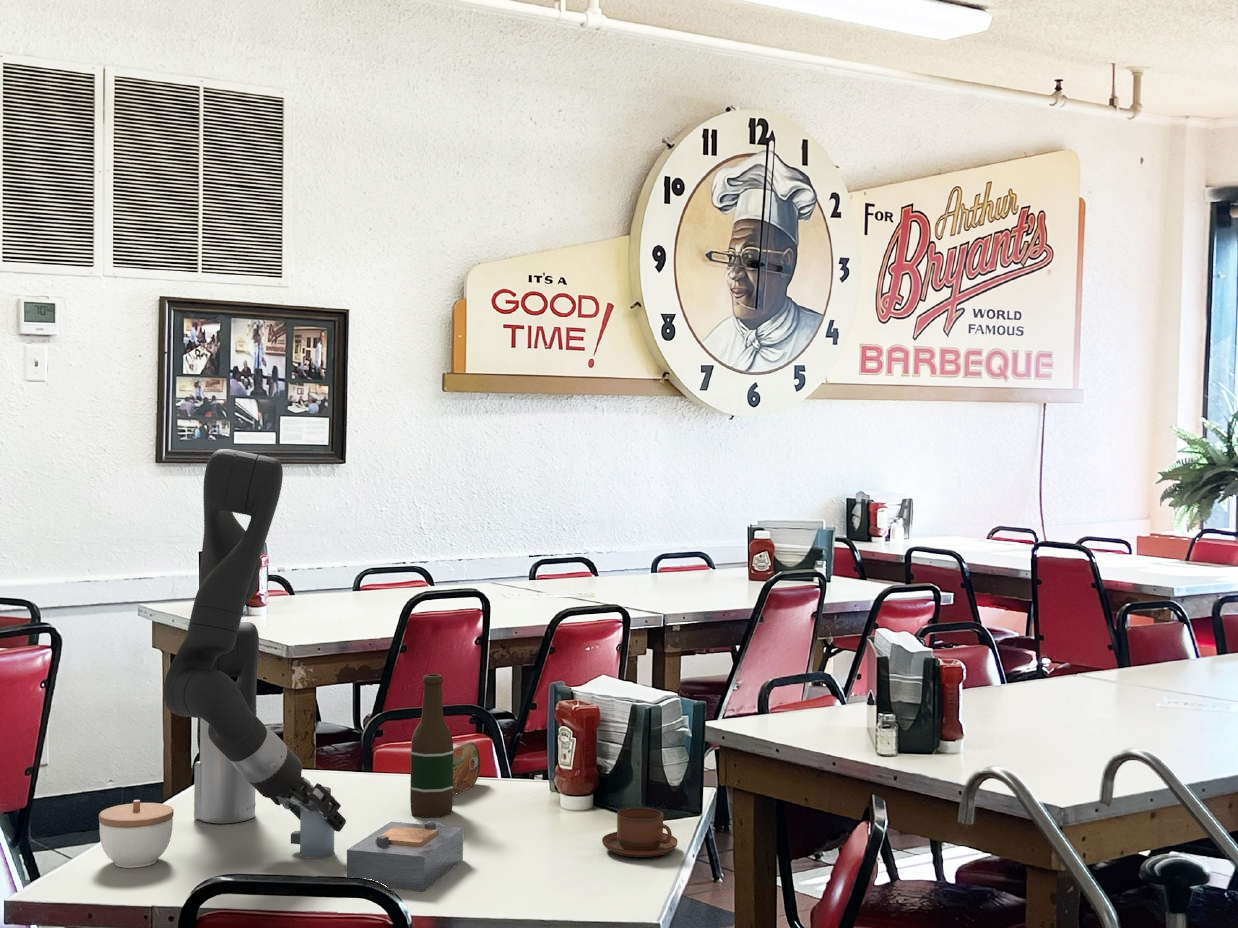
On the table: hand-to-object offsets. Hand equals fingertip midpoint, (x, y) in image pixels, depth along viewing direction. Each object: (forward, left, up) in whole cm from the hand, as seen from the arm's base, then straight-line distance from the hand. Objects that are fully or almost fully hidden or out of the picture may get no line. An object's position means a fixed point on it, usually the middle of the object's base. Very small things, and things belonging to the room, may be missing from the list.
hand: (324, 821), depth 216 cm
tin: (+6, +43, -5) cm, 44 cm away
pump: (-1, -1, -5) cm, 5 cm away
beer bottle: (+7, +27, -5) cm, 28 cm away
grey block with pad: (+16, -4, -5) cm, 17 cm away
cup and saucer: (+48, +14, -5) cm, 50 cm away
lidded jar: (-25, -13, -5) cm, 28 cm away
